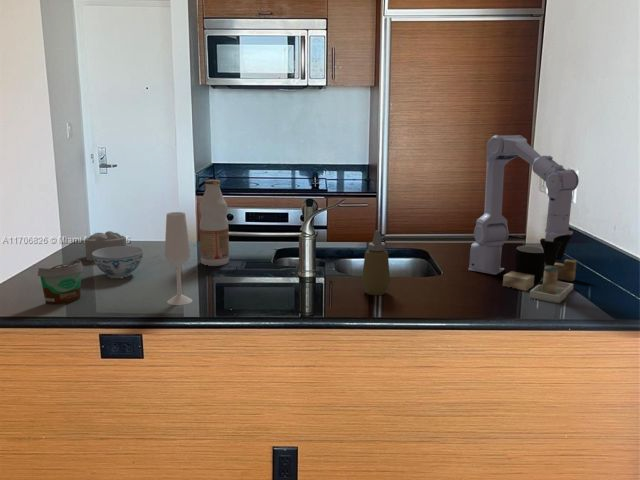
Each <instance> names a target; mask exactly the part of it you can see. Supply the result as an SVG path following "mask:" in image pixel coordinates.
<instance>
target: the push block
mask: <svg viewBox="0 0 640 480" xmlns="http://www.w3.org/2000/svg"><path fill="white" fill-rule="evenodd" d="M534 276H535V275H530V274H524V273H519V272H516V271H513V270H511V271H509V272H507V273H505V274H503V278H502V279H503V280H502V286H503V287H505V286H506V288H510V287H512V288H511V289H515V288H516V289H517V290H520V291H525V292H526V291H528V290H530V289H531V288H534V285H535V284H534ZM529 288H530V289H529ZM516 289H515V290H516Z"/></svg>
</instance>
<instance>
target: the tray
mask: <svg viewBox="0 0 640 480" xmlns="http://www.w3.org/2000/svg"><path fill="white" fill-rule="evenodd" d="M542 287H543V284H540V283H538V284H536V285H535V287H534V286H533V287H532V289H531V290H529V296H528V297H529V299H535V300H538V301H544V302H549V303H555V304H560V303H561V302H562V301H564V299H566V298H567V296H568V294H567V290H568V289H562V288H556V295H553V294H547V293H542Z"/></svg>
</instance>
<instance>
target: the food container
mask: <svg viewBox="0 0 640 480" xmlns="http://www.w3.org/2000/svg"><path fill="white" fill-rule="evenodd" d="M83 270H84V266H83V263H82V261H81V260H80V259H78V258H76V260H75V261H74V262H72V263H67V264H65V263H64V264H58V265H56V266H55V265H54V266H53V267H50V268H44V267H38V270H37V277H39V278H40V282H41V286H42V291H43V292H42V293H43V295H44V300H45V304H47V305H63V304H65V305H66V304H70V302H71V303H73V302H77V301H79V300H80V299H81V295H82V294H81V291H82V290H81V289H82V288H81V287H82V285H81V283H82V282H81V281H82V280H81V279H82V276H81V275H82V271H83Z"/></svg>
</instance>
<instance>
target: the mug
mask: <svg viewBox="0 0 640 480" xmlns="http://www.w3.org/2000/svg"><path fill="white" fill-rule="evenodd" d="M545 265H546V263H545V256H544V251H543V247H542V246H541V247H539V246H533V245H521V246H520V245H519V246H517V247H516V249H515V272H519V273H524V274H530V275H535V276H534V285H538V284H540V283H541V281H542V280H543V279H542V278H543V273H544V268H545Z"/></svg>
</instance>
